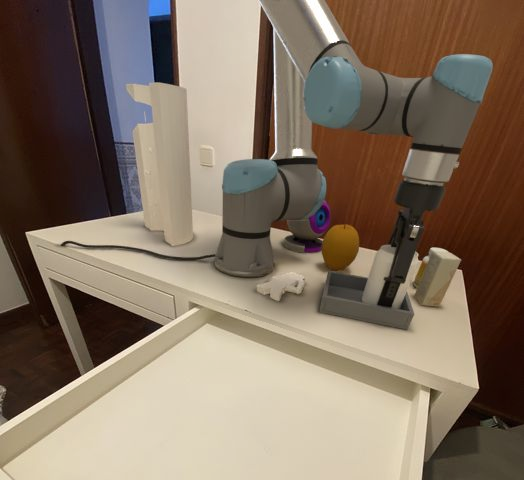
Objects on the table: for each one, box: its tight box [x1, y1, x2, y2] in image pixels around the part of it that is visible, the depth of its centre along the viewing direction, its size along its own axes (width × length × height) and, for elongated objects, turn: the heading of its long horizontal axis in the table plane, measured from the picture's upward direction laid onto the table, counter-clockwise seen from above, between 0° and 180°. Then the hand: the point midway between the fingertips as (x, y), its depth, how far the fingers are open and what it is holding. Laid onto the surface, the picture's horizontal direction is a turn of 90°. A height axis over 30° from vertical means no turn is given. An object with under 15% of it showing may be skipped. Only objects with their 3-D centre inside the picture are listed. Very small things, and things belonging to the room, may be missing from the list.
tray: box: [318, 270, 415, 330], centre depth 65 cm, size 18×15×4 cm
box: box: [413, 251, 462, 308], centre depth 68 cm, size 5×4×11 cm
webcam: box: [283, 199, 331, 254], centre depth 92 cm, size 13×13×15 cm
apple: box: [320, 223, 360, 272], centre depth 80 cm, size 10×10×12 cm
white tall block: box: [125, 81, 194, 247], centre depth 84 cm, size 35×11×21 cm
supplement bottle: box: [412, 247, 449, 289], centre depth 75 cm, size 5×5×10 cm
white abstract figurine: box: [256, 271, 306, 302], centre depth 69 cm, size 9×12×2 cm
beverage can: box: [362, 244, 419, 309], centre depth 62 cm, size 8×8×12 cm
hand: (381, 300), depth 65 cm, fingers closed on beverage can, 8 cm apart
